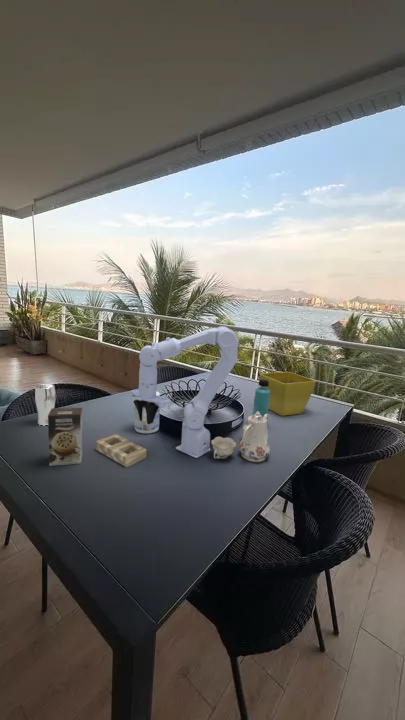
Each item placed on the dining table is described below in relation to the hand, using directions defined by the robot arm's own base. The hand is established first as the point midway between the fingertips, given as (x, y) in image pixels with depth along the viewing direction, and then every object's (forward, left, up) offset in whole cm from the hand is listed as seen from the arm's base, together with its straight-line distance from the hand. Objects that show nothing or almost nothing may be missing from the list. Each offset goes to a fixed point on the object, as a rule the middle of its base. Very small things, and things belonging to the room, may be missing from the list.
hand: (146, 421), depth 107 cm
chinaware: (-26, -23, -10) cm, 36 cm away
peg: (0, 0, -3) cm, 3 cm away
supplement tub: (+12, -11, -10) cm, 19 cm away
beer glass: (+43, +13, -10) cm, 46 cm away
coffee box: (+12, +22, -10) cm, 27 cm away
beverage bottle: (-18, -47, -10) cm, 52 cm away
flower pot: (-17, -73, -10) cm, 76 cm away
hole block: (+3, +8, -10) cm, 13 cm away
